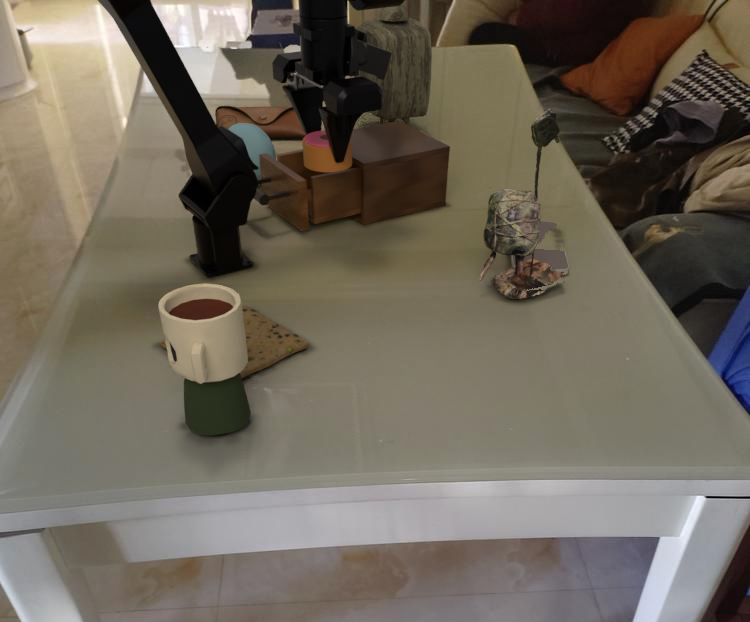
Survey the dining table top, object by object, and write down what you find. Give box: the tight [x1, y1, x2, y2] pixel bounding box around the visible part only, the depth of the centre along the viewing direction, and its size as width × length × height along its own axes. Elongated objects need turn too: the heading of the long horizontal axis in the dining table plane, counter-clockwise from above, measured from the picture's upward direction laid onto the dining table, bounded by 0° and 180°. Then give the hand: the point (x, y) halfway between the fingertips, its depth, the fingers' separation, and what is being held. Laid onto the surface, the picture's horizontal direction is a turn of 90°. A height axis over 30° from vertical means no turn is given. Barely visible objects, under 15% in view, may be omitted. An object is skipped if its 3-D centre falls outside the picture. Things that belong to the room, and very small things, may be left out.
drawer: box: [253, 149, 361, 232], centre depth 108 cm, size 18×12×7 cm
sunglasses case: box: [214, 105, 306, 141], centre depth 137 cm, size 18×7×7 cm
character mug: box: [158, 282, 252, 436], centre depth 69 cm, size 11×7×13 cm, turn 3°
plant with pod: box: [478, 108, 564, 300], centre depth 88 cm, size 8×11×20 cm
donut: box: [302, 129, 352, 172], centre depth 98 cm, size 6×6×3 cm
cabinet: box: [350, 120, 451, 226], centre depth 113 cm, size 15×14×9 cm
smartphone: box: [509, 220, 570, 276], centre depth 103 cm, size 7×1×15 cm
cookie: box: [159, 305, 309, 379], centre depth 83 cm, size 12×12×1 cm
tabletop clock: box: [353, 4, 433, 128], centre depth 130 cm, size 14×9×25 cm, turn 22°
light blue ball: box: [228, 123, 277, 187], centre depth 117 cm, size 7×9×12 cm
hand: (327, 154), depth 98 cm, fingers closed on donut, 6 cm apart
